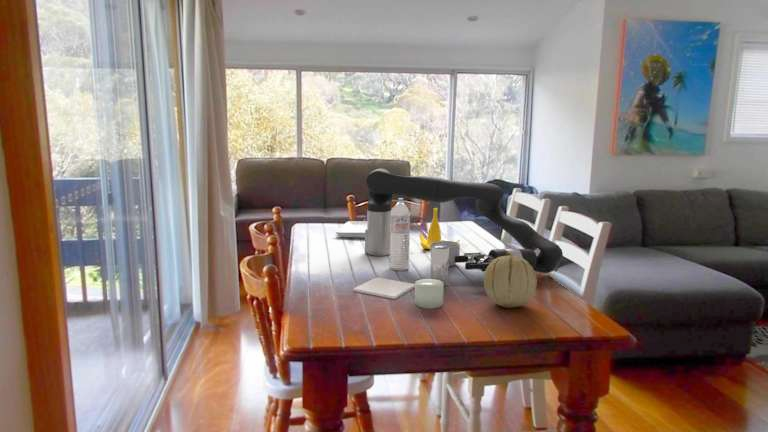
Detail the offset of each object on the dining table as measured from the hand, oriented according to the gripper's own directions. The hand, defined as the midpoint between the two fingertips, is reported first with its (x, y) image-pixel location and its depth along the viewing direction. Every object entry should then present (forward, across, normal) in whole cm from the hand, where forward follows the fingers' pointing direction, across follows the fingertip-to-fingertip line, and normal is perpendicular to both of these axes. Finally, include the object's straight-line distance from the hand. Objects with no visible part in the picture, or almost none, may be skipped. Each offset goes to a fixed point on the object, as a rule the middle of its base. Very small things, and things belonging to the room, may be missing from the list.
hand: (460, 262), depth 165 cm
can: (+7, 0, +7) cm, 10 cm away
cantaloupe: (-4, +24, +7) cm, 25 cm away
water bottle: (+14, -20, +7) cm, 25 cm away
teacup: (-4, -23, +7) cm, 24 cm away
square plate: (+10, -80, +7) cm, 81 cm away
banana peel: (-12, -48, +7) cm, 50 cm away
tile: (+25, +2, +7) cm, 26 cm away
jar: (+17, +17, +7) cm, 25 cm away
